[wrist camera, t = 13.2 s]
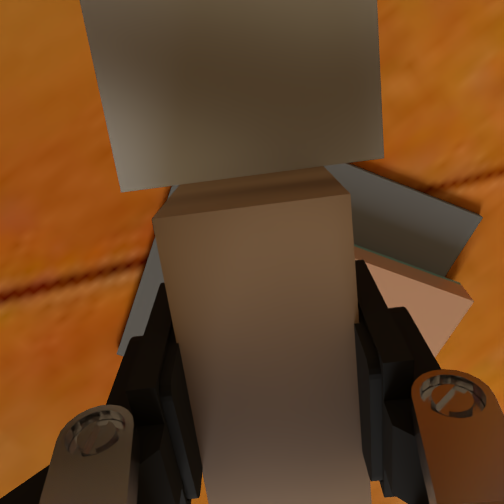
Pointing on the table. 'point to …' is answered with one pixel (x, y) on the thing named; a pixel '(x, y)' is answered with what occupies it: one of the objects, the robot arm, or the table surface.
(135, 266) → the table surface
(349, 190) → the mat
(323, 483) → the brown piece
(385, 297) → the tile
